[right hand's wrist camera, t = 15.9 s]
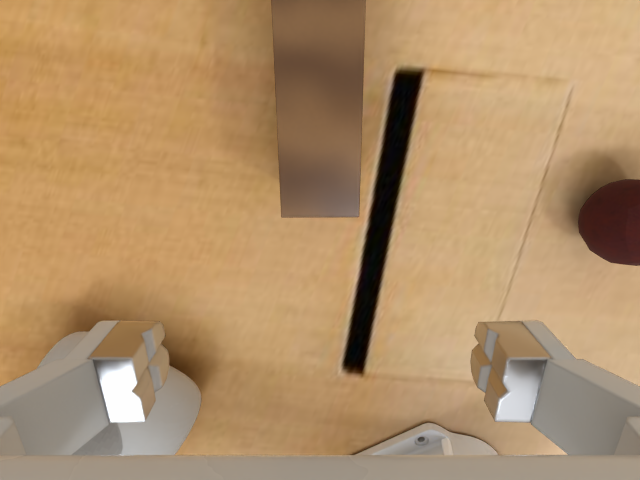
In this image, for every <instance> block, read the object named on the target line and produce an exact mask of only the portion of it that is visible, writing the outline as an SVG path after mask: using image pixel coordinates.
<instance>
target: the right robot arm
mask: <svg viewBox="0 0 640 480" xmlns="http://www.w3.org/2000/svg"><path fill="white" fill-rule="evenodd" d="M164 338H165V331H164V326H163V324H162V323H161V322H160V321H120V320H115V321H100V322H98V323H97V324H96V325H95V326H94V327H93V328H92V329H91V330H90V331H89V332H88V333H87V334H86V336H85V337H84V338H83V339H82V340H81V341H80V342H79V343H78V344H77V345H76V346H75V347H74V349H73V350H72V351H71V352H70V353H69V354H68V355H67V356H66V357H65V358H64V359H57V360H55V361H53V362H50V363H48V364H46V365H44V366H42V367H40V368H38V369H36V370H34V371H32V372H29V373H27V374H25V375H23V376H21V377H19V378H17V379H15V380H13V381H11V382H8V383H6V384H4V385H2V386H0V480H640V386H638V385H636V384H633V383H631V382H629V381H627V380H625V379H623V378H621V377H619V376H617V375H615V374H613V373H610V372H608V371H606V370H604V369H602V368H600V367H598V366H596V365H594V364H592V363H590V362H587V361H585V360H583V359H576V358H575V357H574V356H573V355H572V354H571V353H570V352H569V351H568V350H567V349H566V347H565V346H564V345H563V344H562V343H561V342H560V341H559V340H558V339H557V338H556V337H555V336H554V334H553V333H552V332H551V331H550V330H549V329H548V328H547V327H546V326H545V325H544V324H543V323H542V322H540V321H538V320H530V321H503V322H478V324H477V326H476V330H475V338H476V339H477V341H478V343H479V344H478V345H477V346H476V347H475V348H474V349H473V350H472V354H471V372H472V376H473V379H474V381H475V383H476V386H477V387H478V388H479V389H481V390H482V391H483V392H485V398H484V401H485V403H486V405H487V407H488V409H489V411H490V413H491V415H492V417H493V419H494V421H495V422H530V423H531V425H533V426H534V427H535V428H536V429H537V430H539V431H540V432H541V433H542V434H544V435H545V436H546V437H547V438H549V439H550V440H551V441H552V442H553V443H555V444H556V445H557V446H558V447H560V448H561V449H562V450H563V451H564V452H566V453H567V454H568V455H498V453H497V452H496V451H495V450H494V449H493V448H492V447H491V446H490V445H488V444H487V443H485V442H483V441H482V440H479V439H477V438H474V437H471V436H467V435H461V434H456V433H452V432H449V431H447V430H446V429H444V428H442V427H440V426H439V425H436V424H434V423H425V424H422V425H420V426H418V427H416V428H413V429H411V430H409V431H407V432H404V433H402V434H400V435H398V436H396V437H393V438H391V439H389V440H387V441H384V442H382V443H380V444H378V445H375V446H373V447H371V448H369V449H367V450H364V451H362V452H360V453H358V454H355V455H72V454H73V453H74V452H76V451H77V450H78V449H79V448H81V447H82V446H83V445H84V444H86V443H87V442H88V441H89V440H90V439H92V438H93V437H94V436H95V435H97V434H98V433H99V432H100V431H101V430H103V429H104V428H105V427H106V426H108V425H109V423H110V422H145V421H146V419H147V417H148V415H149V413H150V411H151V409H152V407H153V405H154V403H155V401H156V398H155V392H157V391H158V390H159V389H161V388H162V387H163V386H164V383H165V381H166V379H167V375H168V371H169V354H168V350H167V349H166V348H165V347H164V346H163V345H162V344H161V343H162V341H163V339H164Z"/></svg>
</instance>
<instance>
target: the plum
mask: <svg viewBox="0 0 640 480" xmlns="http://www.w3.org/2000/svg"><path fill="white" fill-rule="evenodd" d="M578 225H579V233H580V235H581V236H582V238H583V239H584V241H585V243H586V244H587V246H588V248H589V249H590V250H591V251H592V252H594V253H595V254H597V255H598V256H600V257H602V258H603V259H605V260H607V261H609V262H611V263H617V264H625V265H635V266H638V265H640V180H631V179H625V180H620V181H616V182H612V183H609V184H607V185H605V186H603V187H602V188H600V189H599V190H597V191H596V192H595V193H593V194H592V195H591V196H590V198H589V199H588V200H587V201H586V202H585V204H584V205H583V207H582V208H581V211H580V214H579V218H578Z"/></svg>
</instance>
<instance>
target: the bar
mask: <svg viewBox="0 0 640 480" xmlns="http://www.w3.org/2000/svg"><path fill="white" fill-rule="evenodd" d="M271 3H272V25H273V47H274V68H275V90H276V112H277V134H278V155H279V177H280V199H281V217H282V218H293V217H359V205H360V172H361V138H362V105H363V72H364V39H365V5H366V0H271Z"/></svg>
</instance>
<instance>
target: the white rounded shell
mask: <svg viewBox="0 0 640 480" xmlns="http://www.w3.org/2000/svg"><path fill="white" fill-rule="evenodd" d="M87 333H88V332H86V331H82V332H75V333H72V334H69V335H67V336H66V337H64V338H62V339H61V340H60V341H59V342H58V343H56V344H55V345H54V346H53V347H52V349H51V350H50V351H49V352H48V353H47V355H46V356H45V357H44V359H43V360H42V361H41V363H40V364H39V366H38V367H37V369H38V368H40V367H42V366H44V365H46V364H48V363H50V362H53V361H55V360H57V359H64V358H65V357H66V356H67V355H68V354H69V353H70V352H71V351H72V350H73V349H74V347H75V346H76V345H77V344H78V343H79V342H80V341H81V340H82V339H83V338H84V337H85V336H86V334H87ZM155 398H156V401H155V403H154V405H153V407H152V409H151V411H150V413H149V415H148V417H147V419H146V421H145V422H110V423H109V425H108V426H106V427H105V428H104V429H103V430H101V431H100V432H99V433H98V434H97V435H95V436H94V437H93V438H92V439H90V440H89V441H88V442H87V443H86V444H84V445H83V446H82V447H81V448H79V449H78V450H77V451H76V452H74V453H73V454H72V455H175V454H176V452H177V451H178V450H179V448H180V447H181V445H182V444H183V442H184V441H185V439H186V438H187V436H188V434H189V432H190V430H191V428H192V427H193V425H194V422H195V420H196V418H197V415H198V413H199V409H200V406H201V393H200V390H199V388H198V386H197V385H196V384H195V382H194V381H193V380H192V379H190V378H189V377H188V376H187V375H185V374H184V373H182V372H180V371H179V370H177V369H175V368H173V367H172V366H170V365H169V371H168V375H167V379H166V381H165V383H164V386H163V387H162V388H161V389H159V390H158V391H157V392H155Z"/></svg>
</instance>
